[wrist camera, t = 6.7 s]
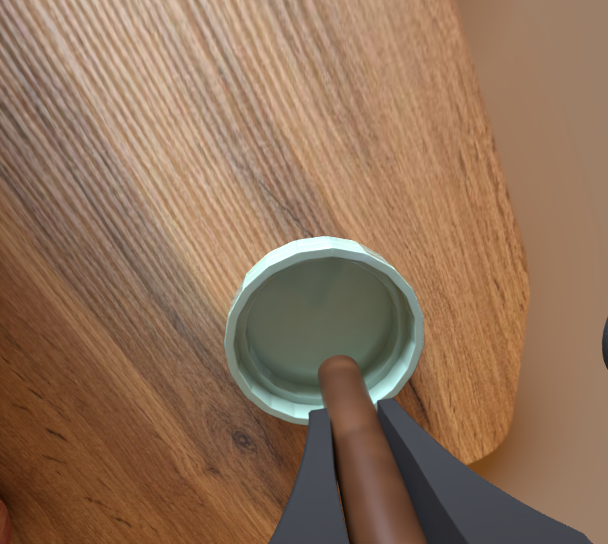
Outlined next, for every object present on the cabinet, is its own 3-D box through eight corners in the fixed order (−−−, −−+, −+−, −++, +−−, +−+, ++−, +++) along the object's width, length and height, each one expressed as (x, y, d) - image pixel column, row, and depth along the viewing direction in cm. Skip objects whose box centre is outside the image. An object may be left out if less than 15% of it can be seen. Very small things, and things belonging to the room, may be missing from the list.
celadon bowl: (402, 223, 20) (423, 234, 17) (406, 379, 23) (424, 411, 20) (215, 248, 19) (205, 264, 16) (247, 403, 23) (243, 438, 20)
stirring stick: (357, 351, 16) (450, 570, 8) (360, 387, 17) (447, 625, 8) (315, 357, 16) (360, 585, 8) (319, 393, 17) (365, 640, 8)
